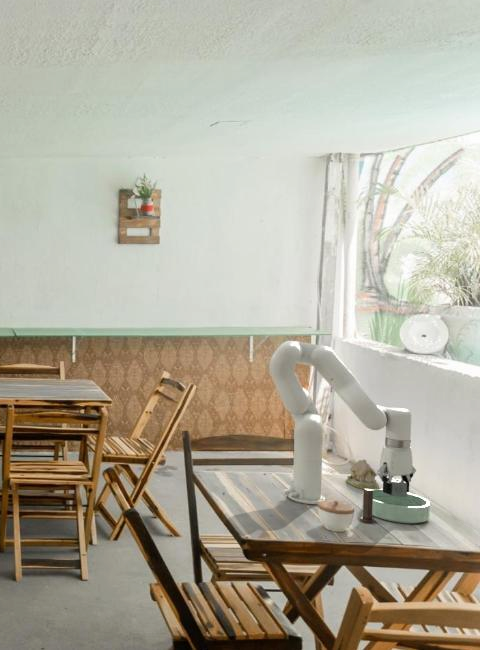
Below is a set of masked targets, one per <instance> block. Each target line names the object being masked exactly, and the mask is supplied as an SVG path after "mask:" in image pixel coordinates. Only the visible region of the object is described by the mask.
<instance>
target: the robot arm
mask: <svg viewBox="0 0 480 650" xmlns="http://www.w3.org/2000/svg"><path fill="white" fill-rule="evenodd" d="M296 364H300V365H305V366H310V367H311V366H312V367H313V368H314V369H315V370H316V371H317V372H318V373H319V374H320V376H322V377H323V379H324V380H325V381H326V382H327V383H328V384H329V386H330V387H331V388H332V389H333V391H334V392H335V393H336V394H337V395H338V397H339V398H340V399H341V400H342V402H344V403H345V405H346V406H347V408H349V409H350V411H351V412H352V413H353V414H354V415H355V416H356V418H357V419H358V420H359V421H360V422H361V423H362V424H363V426H365V427H366V428H367V429H369V430H372V431H380V430H383V428H385V436H384V437H385V439H384V446H383V447H382V449H381V454H380V460H379V469H377V471H376V475H377V476H378V477H379V478H380V479H381V482H382V489H383V492H384V493H386V494H389V495H391V494H392V484H391V480H392V478H394V477H399V476H400V479H402V480H403V481H405V482H406V483H407V493H410V483H411V482H412V478H413V477H414V475H415V474H416V472H417V469H416V468H415V467H414V466H413V452H412V447H411V443H412V440H411V435H412V412H411V410H408V409H407V408H400V407H386V406H381V405H377V404H376V403H375V402H374V401H373V400H372V398H371V397H370V396H369V395H368V394H367V392H366V391H365V389H364V388H363V386H362V384H361V383H360V381H359V379H358V378H357V377H356V376H355V375H354V374H353V373H352V372H351V370H350V369H349V368H348V367H347V366H346V364H345V363H344V362H343V361H342V360H341V359H340V358H339V357H338V356H337V355H336V353H335V351H334V349H333V348H331V347H329V346H328V345H322V344H314V343H309V342H302V341H298V340H297V341H296V340H286V341H284V342H282V343H281V344H280V345H279V346H278V347H277V349H276V350H274V352H273V354H272V355H271V357H270V360H269V366H268V367H269V373H270V376H271V380H272V382H273V383H274V384H273V385H274V386H275V388H276V390H277V393H278V395H279V398H280V399H281V402H282V405H283V407H284V408H285V410H286V411H288V412H289V415H290V416H291V418H292V421H293V422H294V430H293V466H292V467H293V472H292V485H290V488H288V489H282V490H281V494H282V495H284V496H286V495H287V497H288V499H290V500H292V501H294V502H297V503H301V504H307V505H318V502H319V501H323V500H326V497H325V496H324V495H322V476H323V474H322V473H323V445H324V422H323V421H324V420H323V419H322V417H321V415H320V413H319V410H318V408H317V406H316V404H315V401H313V398H312V396H311V394H310V393H309V391H308V390H307V389H306V388H305V387H303V386H302V384H301V381H300V380H299V376H298V374H297V373H296V371H295V366H296Z"/></svg>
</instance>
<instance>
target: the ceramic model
mask: <svg viewBox="0 0 480 650" xmlns="http://www.w3.org/2000/svg"><path fill="white" fill-rule="evenodd" d="M349 471H350V475H348V476H347V480H346V482H347V483H348V484H349V485H352V486H354V487H356V488H359V489H363V490H364V489H380V488H379V487H380V486H379V485H380V484H379V483H378V482H377V479H375V478H376V477H377V476H378V474H377V472H376V471H375V470H374V469H373V468H372V467H371V465H370V464H369V463H368V462H367V460H366V459H359V460H358V461H357V462H355V463H354V464H352V465H351V467H350V468H349Z"/></svg>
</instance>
